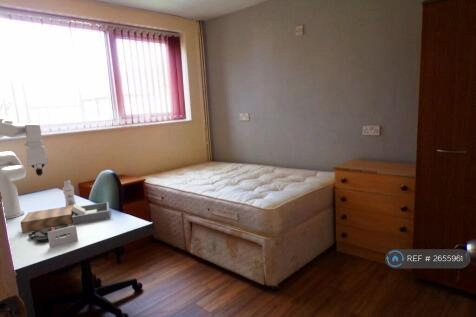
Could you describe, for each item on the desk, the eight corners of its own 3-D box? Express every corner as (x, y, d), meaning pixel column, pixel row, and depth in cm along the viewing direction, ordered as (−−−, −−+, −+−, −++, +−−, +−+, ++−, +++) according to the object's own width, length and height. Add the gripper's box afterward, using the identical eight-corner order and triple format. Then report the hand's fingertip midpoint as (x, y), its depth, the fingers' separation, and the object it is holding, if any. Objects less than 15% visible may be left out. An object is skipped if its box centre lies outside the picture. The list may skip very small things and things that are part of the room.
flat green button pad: (27, 238, 165) (25, 229, 165) (64, 227, 179) (62, 219, 178) (39, 246, 154) (38, 236, 153) (78, 233, 167) (77, 225, 167)
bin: (73, 224, 180) (72, 217, 180) (76, 214, 201) (75, 207, 200) (109, 218, 187) (108, 210, 187) (109, 208, 208) (108, 201, 207)
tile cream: (70, 210, 186) (73, 206, 186) (71, 207, 193) (74, 203, 193) (82, 216, 189) (84, 212, 189) (82, 212, 195) (85, 209, 196)
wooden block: (22, 233, 172) (20, 222, 172) (30, 222, 191) (28, 212, 190) (72, 224, 181) (70, 214, 180) (75, 214, 200) (74, 205, 199)
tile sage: (96, 212, 191) (97, 216, 191) (96, 209, 198) (97, 213, 198) (83, 214, 189) (84, 218, 189) (84, 211, 195) (84, 215, 195)
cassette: (77, 240, 157) (75, 224, 156) (78, 241, 156) (76, 225, 155) (49, 247, 151) (46, 231, 149) (50, 248, 149) (47, 232, 148)
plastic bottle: (66, 213, 204) (61, 182, 201) (66, 210, 210) (61, 180, 207) (77, 211, 207) (72, 180, 204) (77, 208, 213) (72, 178, 210)
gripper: (18, 146, 183) (23, 178, 186) (48, 144, 189) (53, 174, 192) (21, 145, 190) (26, 175, 193) (50, 143, 196) (54, 172, 199)
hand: (39, 175), depth 192 cm, fingers closed
